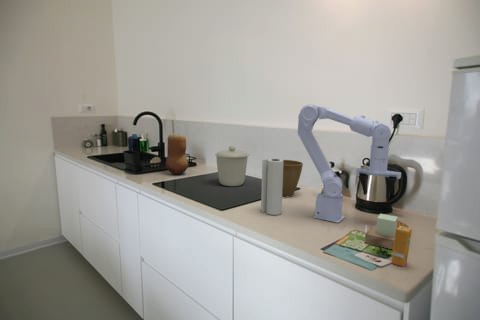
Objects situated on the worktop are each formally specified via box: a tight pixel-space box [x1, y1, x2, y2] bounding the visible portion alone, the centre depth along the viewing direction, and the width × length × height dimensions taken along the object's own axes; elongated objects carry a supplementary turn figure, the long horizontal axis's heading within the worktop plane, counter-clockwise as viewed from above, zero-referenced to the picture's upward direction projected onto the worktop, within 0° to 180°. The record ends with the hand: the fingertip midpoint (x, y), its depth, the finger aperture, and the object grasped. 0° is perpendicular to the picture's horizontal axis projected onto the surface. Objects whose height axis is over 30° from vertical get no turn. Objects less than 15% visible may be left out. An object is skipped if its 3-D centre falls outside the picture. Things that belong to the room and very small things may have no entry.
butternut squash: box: [165, 133, 189, 176], centre depth 193 cm, size 14×13×25 cm
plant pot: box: [282, 159, 304, 197], centre depth 150 cm, size 15×15×16 cm
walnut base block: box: [364, 224, 395, 251], centre depth 99 cm, size 10×10×3 cm
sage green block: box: [376, 213, 399, 237], centre depth 98 cm, size 5×5×5 cm
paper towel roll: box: [260, 158, 284, 216], centre depth 123 cm, size 7×6×21 cm
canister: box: [214, 145, 250, 187], centre depth 169 cm, size 18×18×21 cm
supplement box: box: [390, 226, 412, 268], centre depth 84 cm, size 3×3×10 cm
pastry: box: [397, 219, 409, 228], centre depth 110 cm, size 9×7×4 cm
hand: (376, 195), depth 113 cm, fingers open, 7 cm apart
